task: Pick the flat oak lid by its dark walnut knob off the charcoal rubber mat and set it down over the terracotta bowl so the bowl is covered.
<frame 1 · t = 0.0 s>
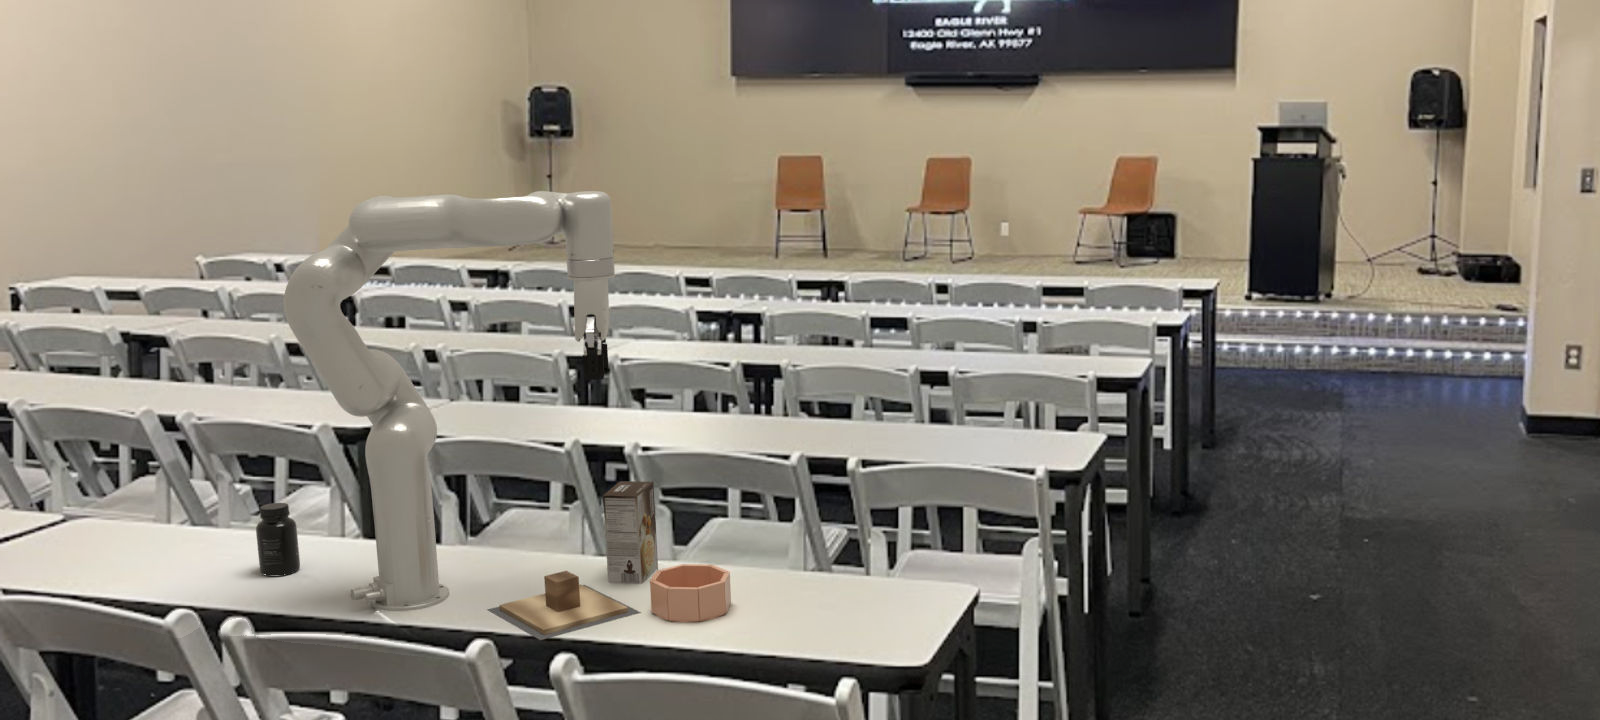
hand: (596, 373, 249), 37 cm above the table, tool pointing down, fingers open, 9 cm apart
mat: (563, 614, 246), on the table
coffee box: (633, 579, 263), on the table
lid: (563, 610, 246), point 1 cm above the table, touching mat
supplement bottle: (280, 572, 272), on the table
bowl: (691, 612, 245), on the table
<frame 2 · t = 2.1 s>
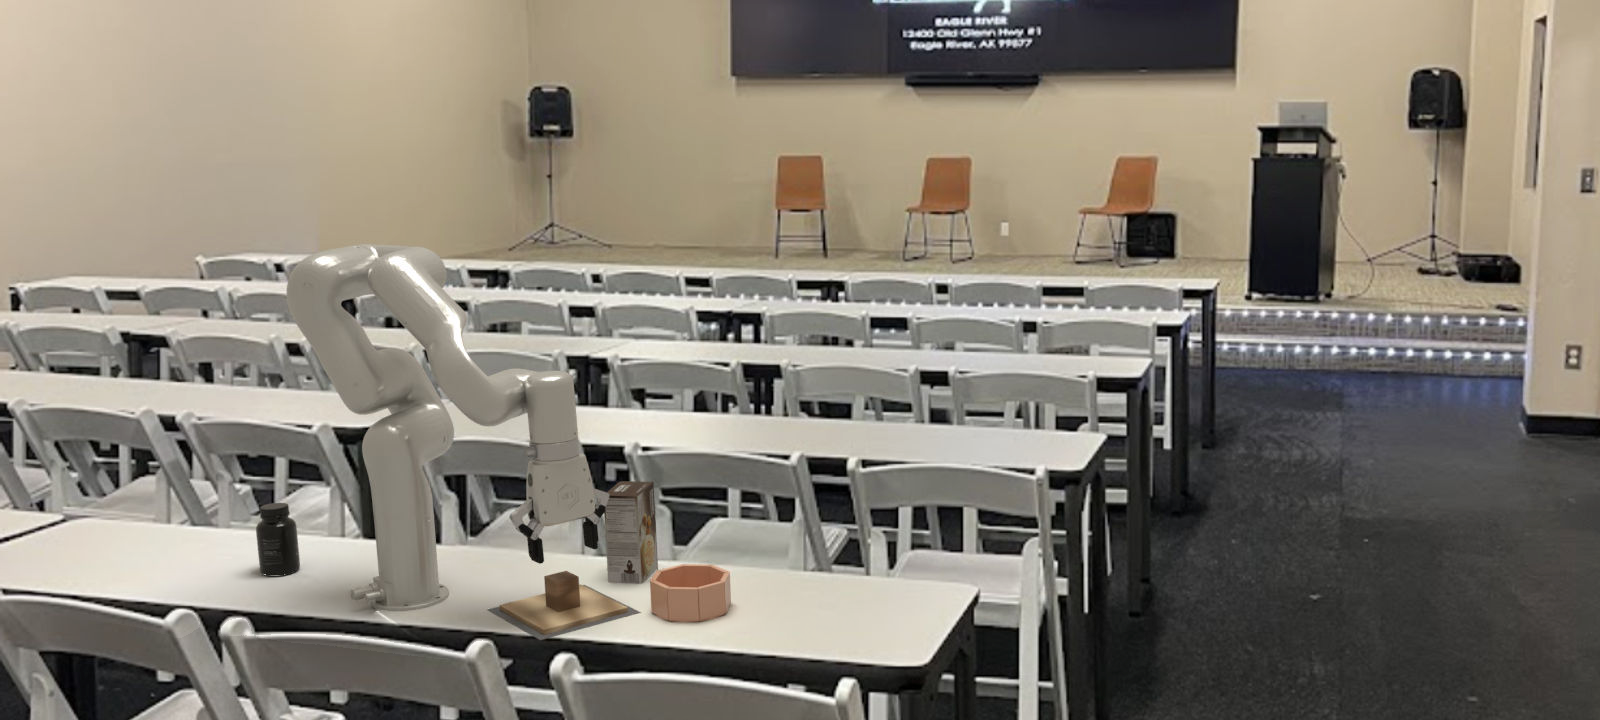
hand: (564, 554, 244), 10 cm above the table, tool pointing down, fingers open, 9 cm apart
nothing on the table moved.
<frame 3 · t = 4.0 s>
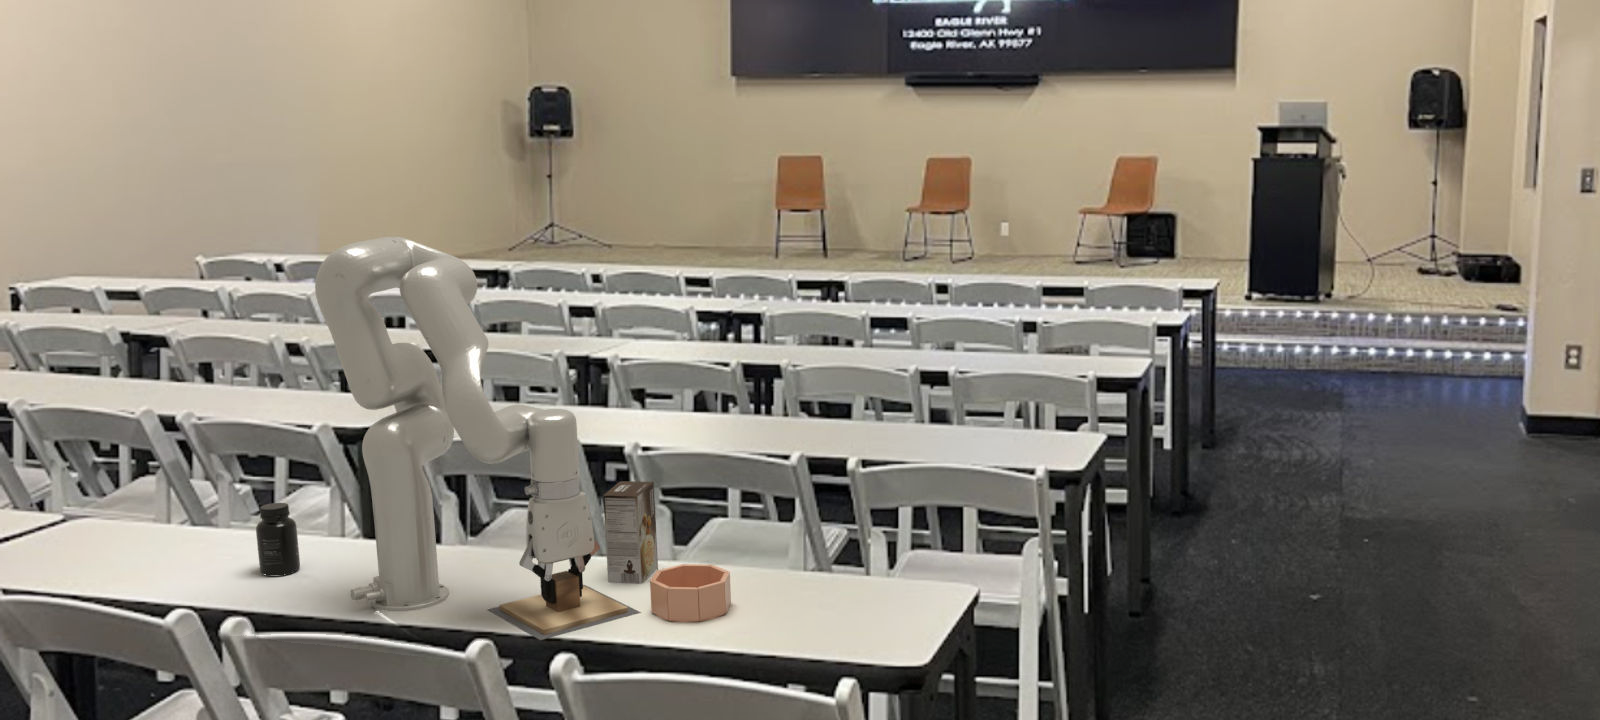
hand: (562, 597, 245), 3 cm above the table, tool pointing down, fingers closed on lid, 4 cm apart
lid: (563, 610, 246), point 1 cm above the table, touching gripper, mat
everything else where it was.
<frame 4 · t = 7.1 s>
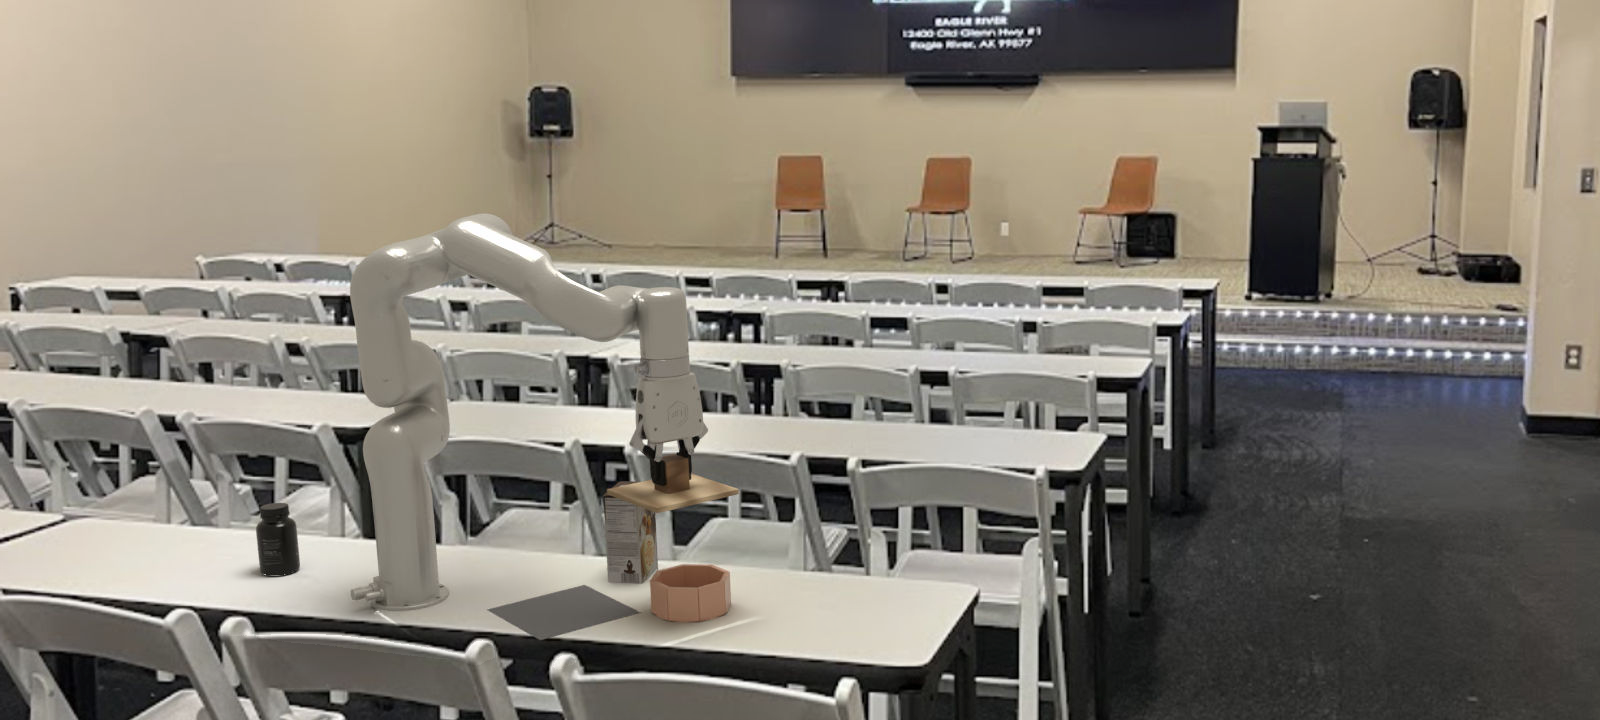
hand: (671, 480, 241), 22 cm above the table, tool pointing down, fingers closed on lid, 4 cm apart
lid: (672, 494, 242), point 20 cm above the table, touching gripper
everything else where it was.
when the fingers open (10 cm above the table, at t = 10.3 s): lid drops 1 cm, resting on bowl.
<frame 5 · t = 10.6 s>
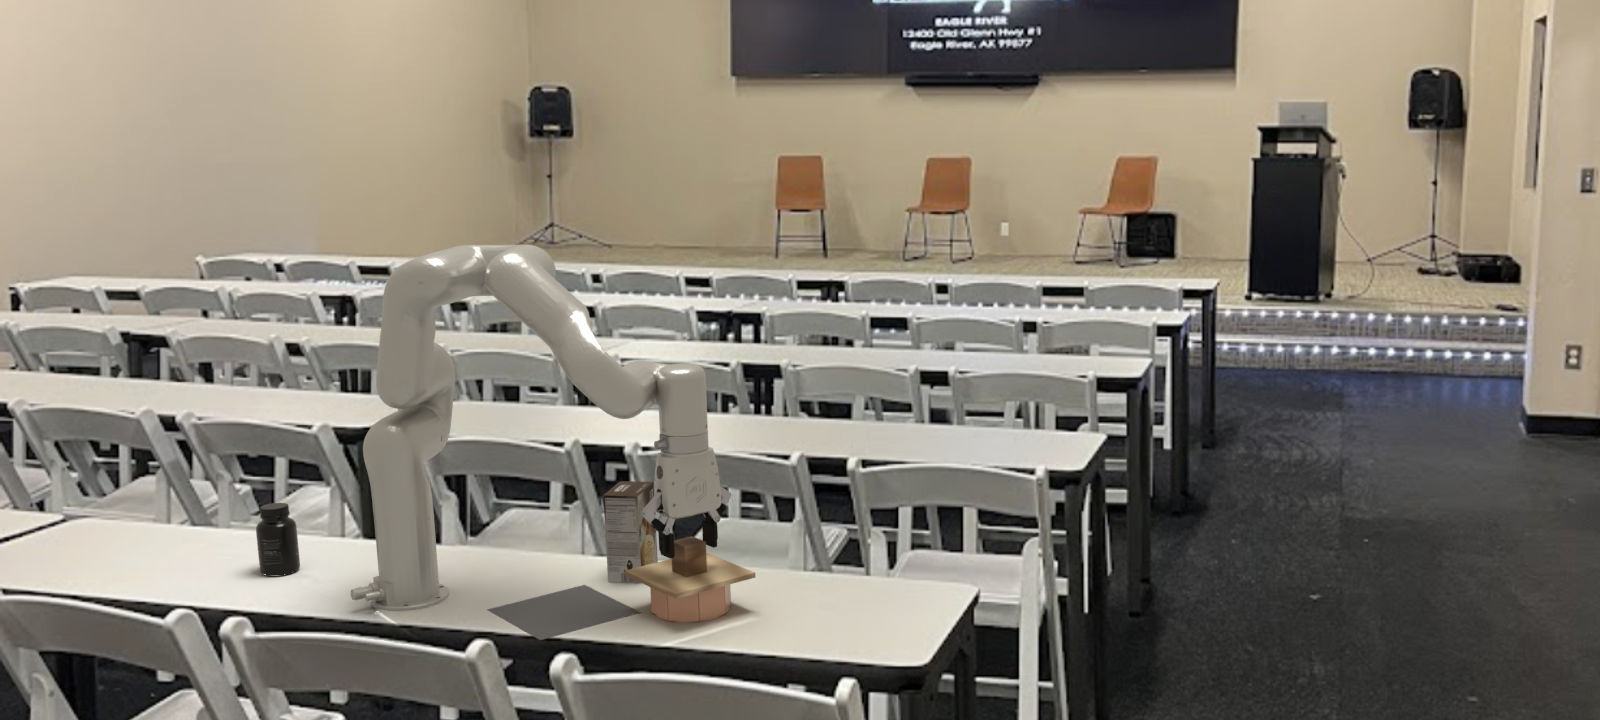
hand: (689, 550, 243), 10 cm above the table, tool pointing down, fingers open, 7 cm apart
lid: (689, 576, 244), point 6 cm above the table, touching bowl
everything else where it was.
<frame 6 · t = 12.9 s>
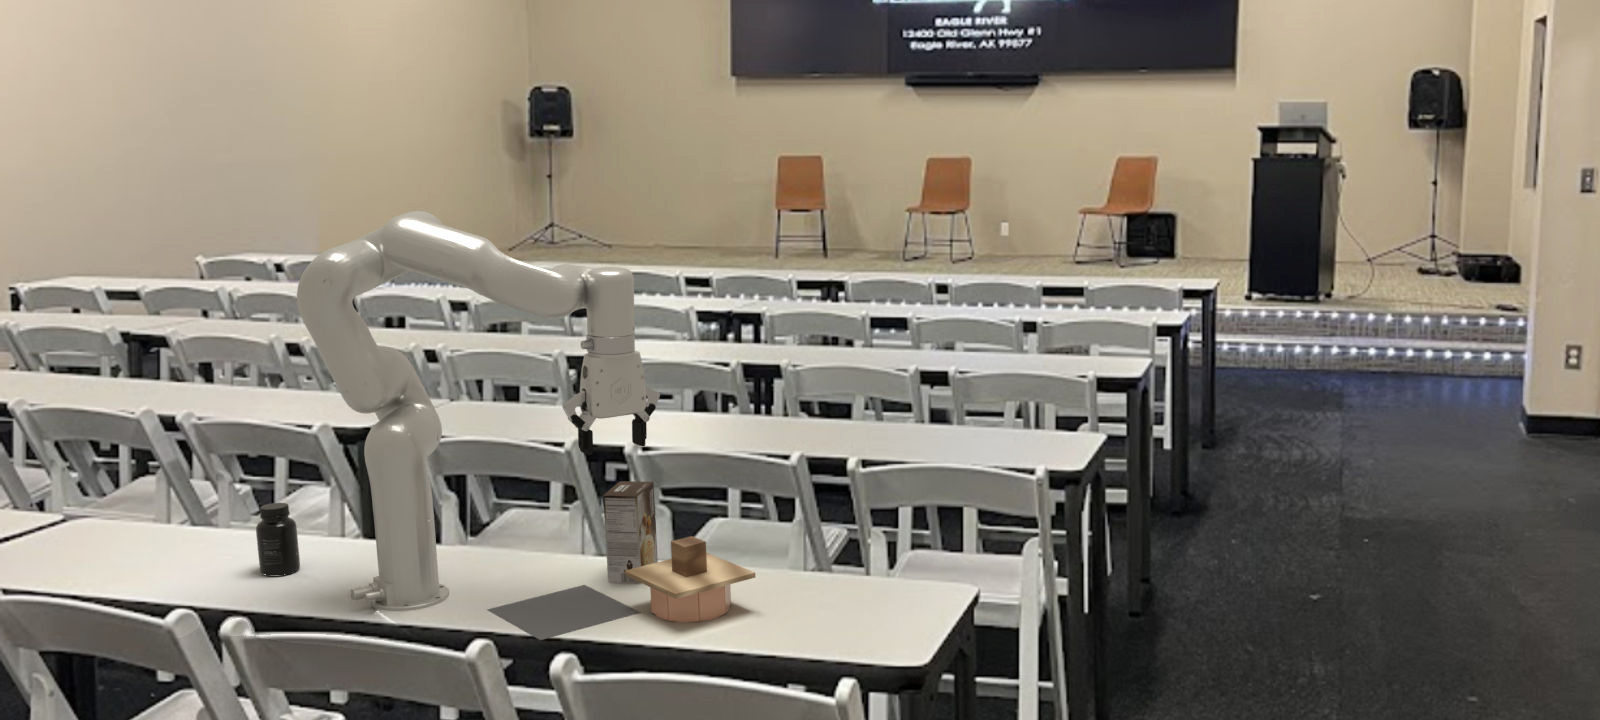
hand: (612, 448, 248), 25 cm above the table, tool pointing down, fingers open, 9 cm apart
nothing on the table moved.
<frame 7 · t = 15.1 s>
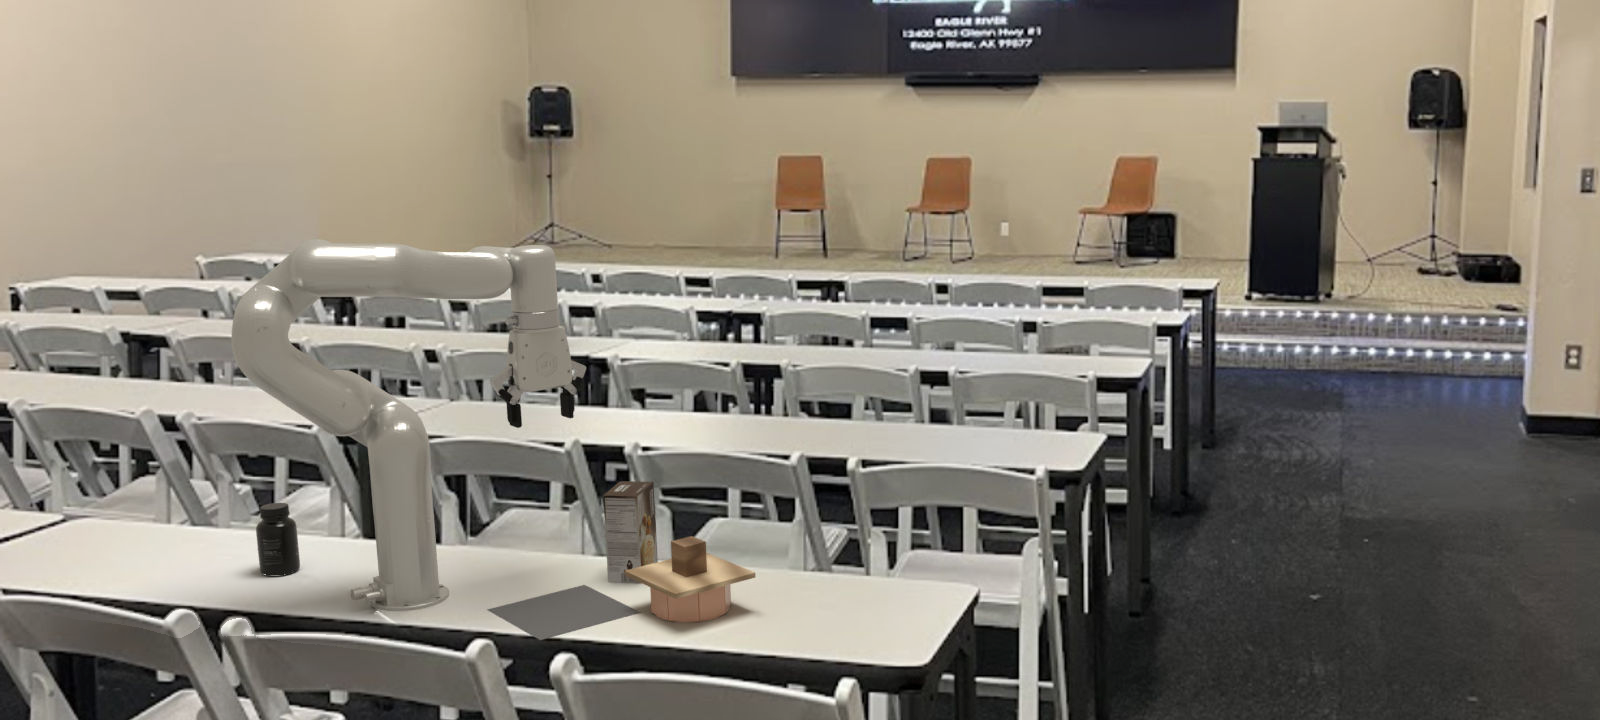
hand: (541, 421, 256), 28 cm above the table, tool pointing down, fingers open, 9 cm apart
nothing on the table moved.
at the end: lid 0.1 cm off-centre on the bowl, point 6.0 cm above the bowl's base; lid tilted 0°; the gripper is holding nothing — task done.
